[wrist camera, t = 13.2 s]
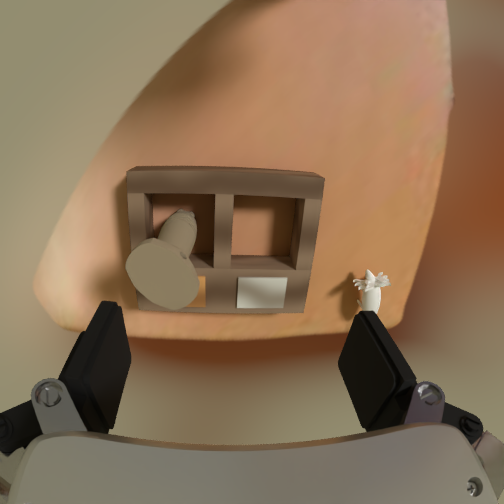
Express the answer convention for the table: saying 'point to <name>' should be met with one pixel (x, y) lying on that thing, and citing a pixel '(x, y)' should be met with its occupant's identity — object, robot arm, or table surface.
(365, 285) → the white animal figurine
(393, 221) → the table surface
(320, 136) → the table surface
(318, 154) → the table surface
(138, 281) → the handle
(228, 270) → the socket block
